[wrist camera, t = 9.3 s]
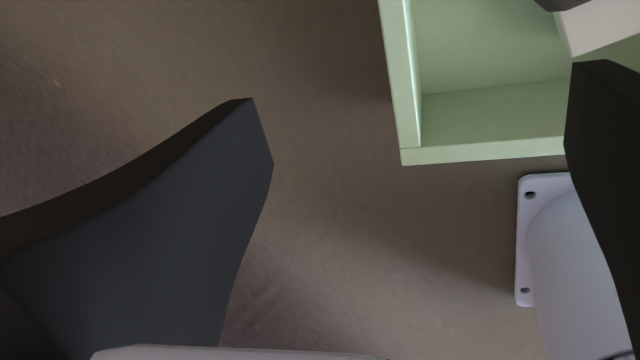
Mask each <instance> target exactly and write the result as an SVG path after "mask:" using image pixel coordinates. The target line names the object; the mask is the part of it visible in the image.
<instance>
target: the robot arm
mask: <svg viewBox="0 0 640 360" xmlns="http://www.w3.org/2000/svg"><path fill="white" fill-rule="evenodd" d="M563 147H564V151H565V155H566V160H567V164H568V168H569V172H561V173H545V174H530V175H525V176H523V177H521V179H520V180H519V182H518V200H517V230H516V260H515V289H514V298H515V303H516V304H517V305H520V306H526V307H535V310H536V315H537V320H538V325H539V329H540V334H541V339H542V344H543V349H544V353H545V358H546V360H640V73H638V72H636V71H634V70H632V69H630V68H628V67H625V66H623V65H621V64H619V63H616V62H614V61H611V60H608V59H599V60H590V61H581V62H572V70H571V79H570V87H569V96H568V105H567V113H566V122H565V131H564V139H563ZM273 167H274V162H273V159H272V156H271V153H270V150H269V147H268V144H267V141H266V137H265V134H264V131H263V128H262V125H261V122H260V119H259V116H258V113H257V110H256V107H255V104H254V101H253V98H243V99H234V100H229V101H227V102H224V103H222V104H220V105H219V106H217V107H215V108H214V109H212V110H210V111H209V112H207V113H206V114H204V115H203V116H201V117H200V118H198V119H197V120H195V121H194V122H192V123H191V124H189V125H188V126H186V127H185V128H183V129H182V130H180V131H179V132H177V133H176V134H174V135H173V136H171V137H170V138H168V139H166V140H165V141H163V142H162V143H160V144H158V145H157V146H155V147H154V148H152V149H150V150H149V151H147V152H146V153H144V154H142V155H141V156H139V157H138V158H136V159H134V160H132V161H131V162H129V163H127V164H125V165H123V166H122V167H120V168H118V169H116V170H114V171H112V172H110V173H108V174H106V175H104V176H102V177H100V178H98V179H96V180H94V181H92V182H90V183H88V184H85V185H83V186H81V187H78V188H76V189H74V190H71V191H69V192H67V193H65V194H62V195H60V196H58V197H55V198H53V199H50V200H48V201H45V202H43V203H40V204H37V205H35V206H32V207H29V208H26V209H24V210H21V211H18V212H15V213H12V214H9V215H6V216H3V217H0V360H389V359H384V358H379V357H373V356H368V355H363V354H357V353H343V352H320V351H297V350H274V349H251V348H228V347H218V343H219V339H220V335H221V331H222V326H223V322H224V318H225V314H226V310H227V306H228V303H229V299H230V295H231V291H232V288H233V284H234V280H235V278H236V275H237V272H238V269H239V266H240V263H241V261H242V258H243V256H244V253H245V251H246V248H247V246H248V243H249V241H250V238H251V236H252V234H253V231H254V229H255V226H256V224H257V221H258V219H259V216H260V213H261V211H262V208H263V206H264V203H265V200H266V198H267V194H268V190H269V186H270V182H271V177H272V172H273ZM529 191H533V193H532V194H525V193H526V192H529ZM524 287H526V288H524Z"/></svg>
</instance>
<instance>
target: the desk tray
mask: <svg viewBox="0 0 640 360" xmlns="http://www.w3.org/2000/svg"><path fill="white" fill-rule="evenodd" d="M377 2H378V8H379V15H380V22H381V29H382V35H383V42H384V49H385V56H386V63H387V69H388V76H389V83H390V90H391V97H392V103H393V110H394V117H395V124H396V130H397V137H398V144H399V151H400V158H401V165H402V166H409V165H423V164H437V163H450V162H464V161H478V160H492V159H506V158H519V157H533V156H547V155H561V154H565V151H564V147H563V139H564V131H565V122H566V113H567V105H568V96H569V87H570V79H571V70H572V62H581V61H590V60H599V59H608V60H611V61H614V62H616V63H619V64H621V65H623V66H625V67H628V68H630V69H632V70H634V71H636V72H638V73H640V33H638V34H635V35H632V36H630V37H627V38H624V39H622V40H619V41H616V42H614V43H611V44H608V45H606V46H603V47H600V48H598V49H595V50H592V51H590V52H587V53H584V54H582V55H579V56H576V57H570V56H569V54H568V52H567V50H566V49H565V47H564V45H563V43H562V41H561V40H560V37H559V33H558V30H557V26H556V23H555V19H554V16H553V13H552V12H546V11H545V10H544V9H543V8H542V7H541V6H539V5H538V4H537V3H536V2H535V1H534V0H377Z"/></svg>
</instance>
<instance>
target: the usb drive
mask: <svg viewBox="0 0 640 360" xmlns="http://www.w3.org/2000/svg"><path fill="white" fill-rule="evenodd" d="M534 1H535V2H536V3H537V4H538V5H539V6H541V7H542V8H543V9H544V10H545V11H546V12H552V13H553V16H554V19H555V23H556V26H557V30H558V33H559V37H560V40H561V41H562V43H563V45H564V47H565V49H566V50H567V52H568V54H569V56H570V57H576V56H579V55H582V54H584V53H587V52H590V51H592V50H595V49H598V48H600V47H603V46H606V45H608V44H611V43H614V42H616V41H619V40H622V39H624V38H627V37H630V36H632V35H635V34H638V33H640V0H534Z"/></svg>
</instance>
